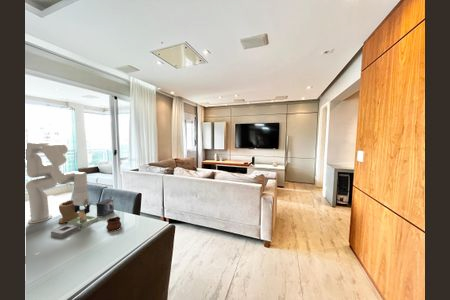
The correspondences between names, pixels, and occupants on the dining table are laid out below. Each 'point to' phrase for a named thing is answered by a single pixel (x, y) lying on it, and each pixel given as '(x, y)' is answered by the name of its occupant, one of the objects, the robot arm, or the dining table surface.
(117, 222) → the ceramic pot
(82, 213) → the fuse
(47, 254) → the dining table surface
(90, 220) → the parts tray
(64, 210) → the stone cup
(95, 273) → the dining table surface
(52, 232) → the holder block
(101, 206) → the small box
